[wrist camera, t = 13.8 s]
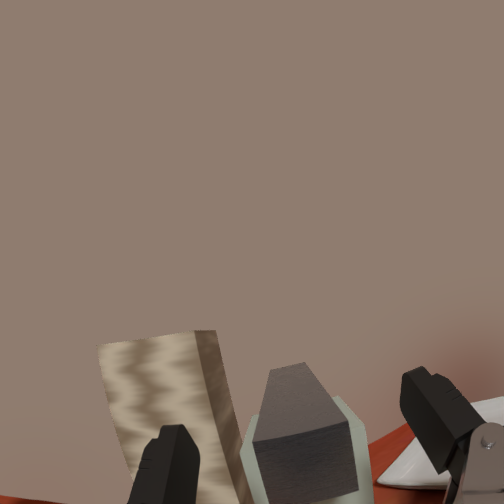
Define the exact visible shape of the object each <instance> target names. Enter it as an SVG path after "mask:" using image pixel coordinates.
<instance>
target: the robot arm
mask: <svg viewBox="0 0 504 504" xmlns="http://www.w3.org/2000/svg"><path fill="white" fill-rule="evenodd" d="M400 408H401V411H402V414H403V416H404V418H405V419H406V421H407V423H408V424H409V426H410V428H411V429H412V431H413V432H414V434H415V436H416V438H417V439H418V441H419V443H420V444H421V446H422V448H423V449H424V451H425V453H426V455H427V456H428V458H429V460H430V461H431V463H432V465H433V467H434V468H435V470H436V472H437V474H438V475H440V474H441V473H443V472H445V471H447V470H448V471H449V473H450V475H451V476H450V478H449V482H448V486H447V489H446V493H445V496H444V500H443V503H442V504H504V426H502V425H500V424H498V423H494V422H489V423H487V422H486V421H485V420H484V419H483V418H482V417H481V416H480V415H479V413H478V412H477V411H476V410H475V409H474V408H473V406H472V405H471V404H470V403H469V402H468V401H467V399H466V398H465V397H464V396H462V394H461V393H460V391H459V390H458V389H456V387H455V386H454V385H453V384H452V382H451V381H450V380H449V379H448V378H445V377H443V376H441V375H439V374H434V375H432V376H431V374H430V373H429V372H428V371H427V370H426V369H425V368H424V367H423V366H420V367H418V368H416V369H413V370H411V371H408V372H406V373H404V374H403V376H402V384H401V394H400ZM138 468H139V470H137V473H136V477H135V480H134V483H133V487H132V491H131V494H130V498H129V501H128V503H127V504H196V495H197V487H198V478H199V469H200V452H199V449H198V447H197V445H196V444H195V442H194V440H193V439H192V437H191V436H190V434H189V432H188V431H187V429H186V427H185V426H184V425H183V424H174V425H163V426H162V427H161V429H160V432H159V436H158V438H152V439H151V440H150V442H149V443H148V444H147V445H146V447H145V448H144V450H143V454H142V457H141V461H140V463H139V467H138Z"/></svg>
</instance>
